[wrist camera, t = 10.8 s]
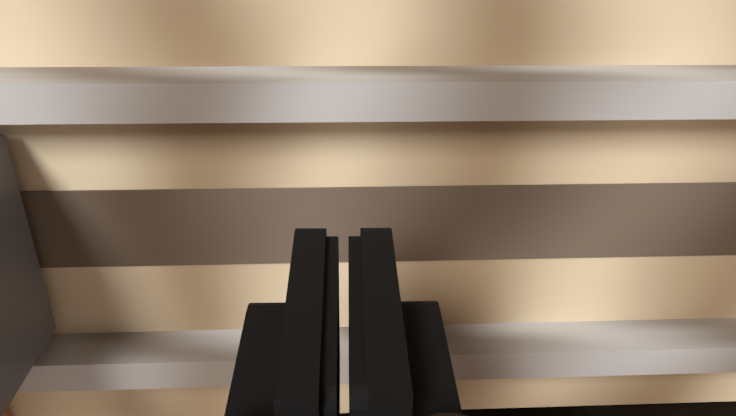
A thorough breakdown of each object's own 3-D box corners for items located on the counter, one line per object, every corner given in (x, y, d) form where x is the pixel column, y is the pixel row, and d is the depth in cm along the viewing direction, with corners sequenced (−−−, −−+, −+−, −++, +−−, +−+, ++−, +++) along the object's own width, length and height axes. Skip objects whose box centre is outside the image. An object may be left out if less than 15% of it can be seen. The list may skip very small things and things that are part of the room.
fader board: (-147, 377, 19) (-230, 466, 16) (-352, -61, 13) (-535, -44, 11) (949, 348, 21) (1047, 423, 18) (1167, -52, 15) (1359, -34, 12)
